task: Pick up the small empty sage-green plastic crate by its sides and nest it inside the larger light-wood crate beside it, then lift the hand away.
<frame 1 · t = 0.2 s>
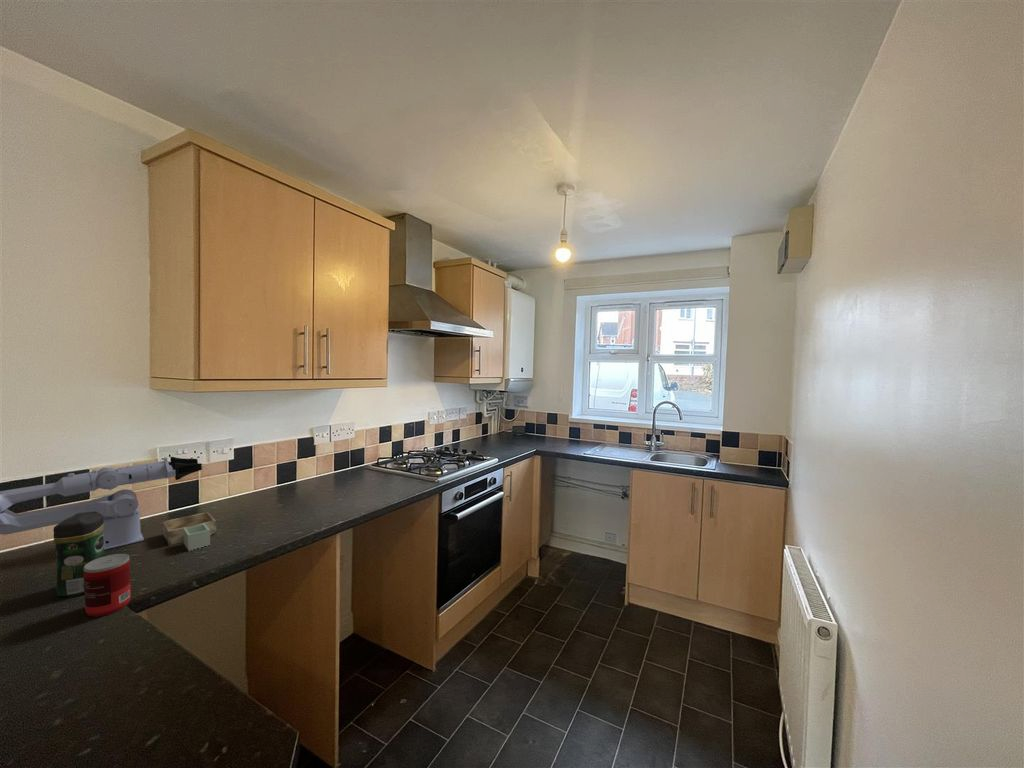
hand: (199, 464, 143), 21 cm above the worktop, tool horizontal, fingers open, 7 cm apart
coffee jar: (82, 588, 104), on the worktop
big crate: (189, 534, 136), on the worktop
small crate: (197, 544, 128), on the worktop
canned food: (108, 607, 96), on the worktop
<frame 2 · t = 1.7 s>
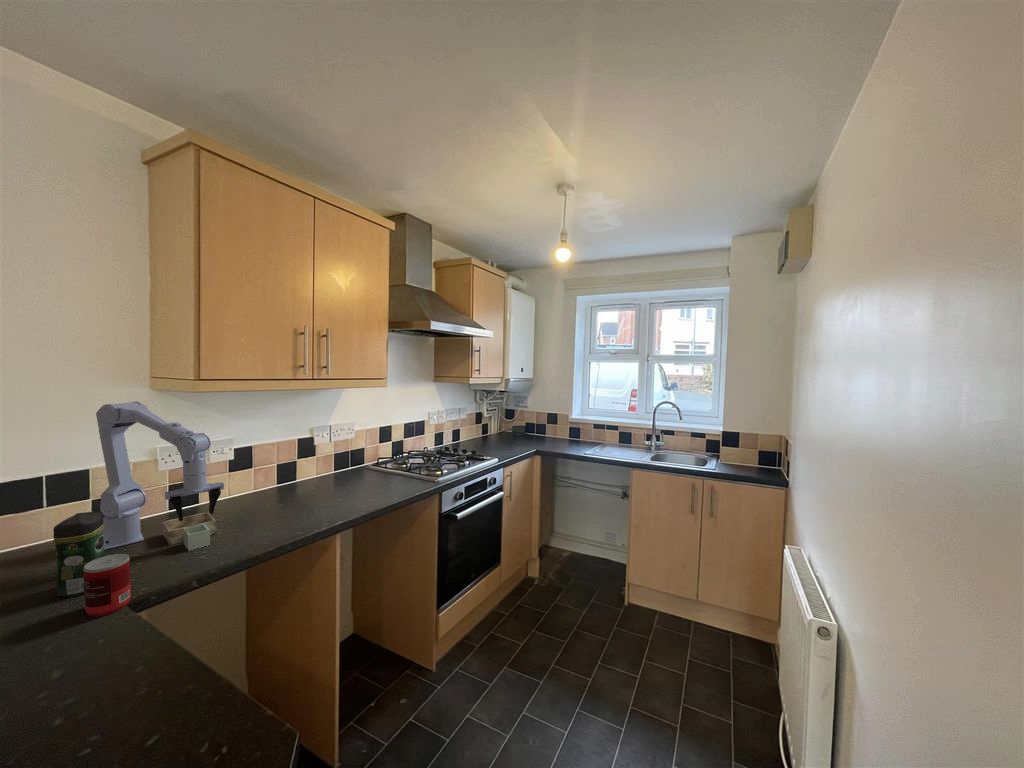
hand: (196, 516, 128), 9 cm above the worktop, tool pointing down, fingers open, 7 cm apart
nothing on the worktop moved.
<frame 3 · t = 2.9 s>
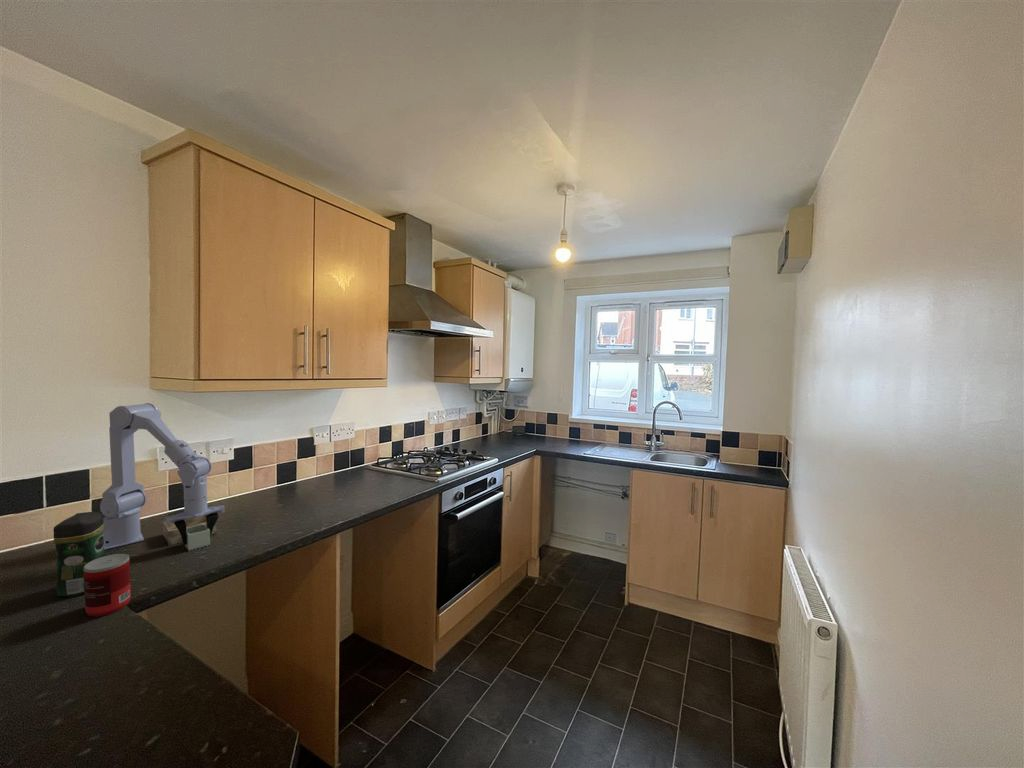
hand: (197, 540, 128), 1 cm above the worktop, tool pointing down, fingers closed on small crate, 5 cm apart
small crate: (197, 544, 128), on the worktop, touching gripper
everything else where it was.
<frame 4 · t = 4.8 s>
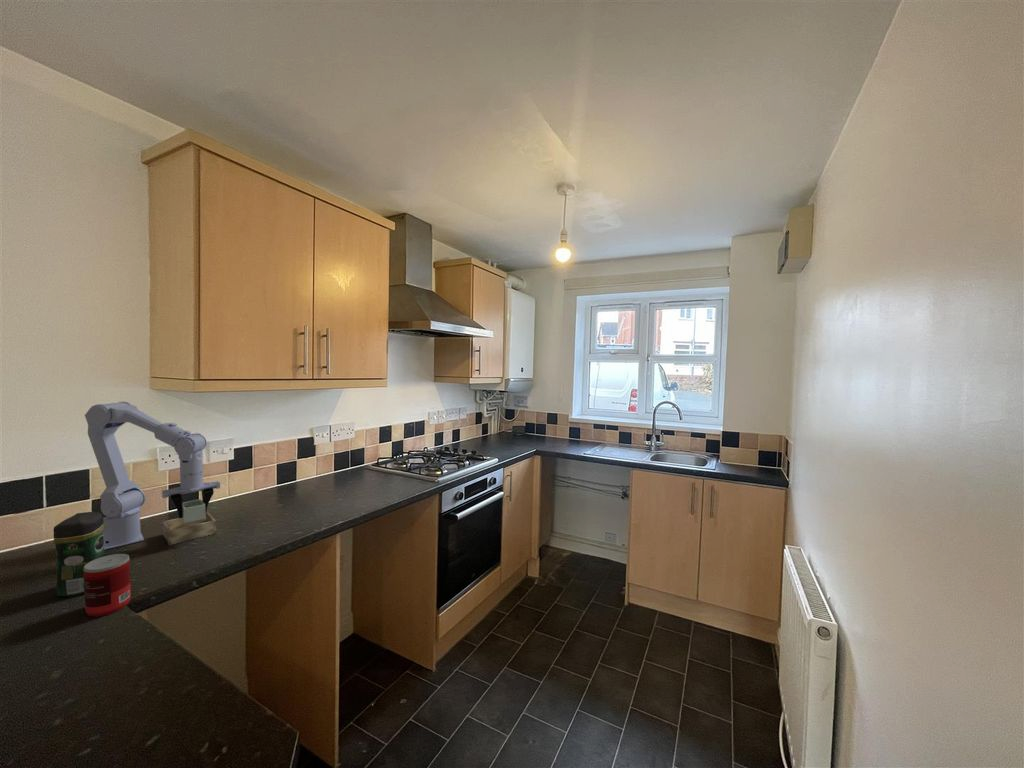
hand: (192, 514, 131), 8 cm above the worktop, tool pointing down, fingers closed on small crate, 5 cm apart
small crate: (192, 519, 131), point 7 cm above the worktop, touching gripper
everything else where it was.
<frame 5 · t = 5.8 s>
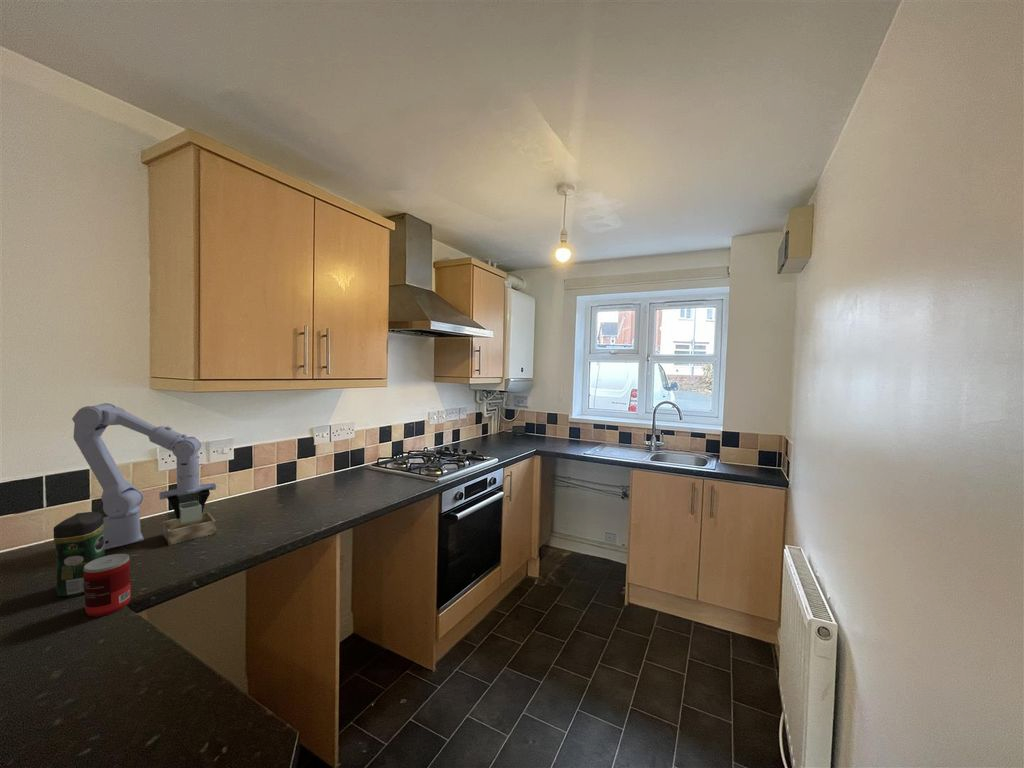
hand: (189, 515, 136), 6 cm above the worktop, tool pointing down, fingers closed on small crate, 5 cm apart
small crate: (189, 519, 136), point 5 cm above the worktop, touching gripper
everything else where it was.
when the fingers open (4 cm above the worktop, at t = 6.8 s): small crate drops 2 cm, resting on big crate.
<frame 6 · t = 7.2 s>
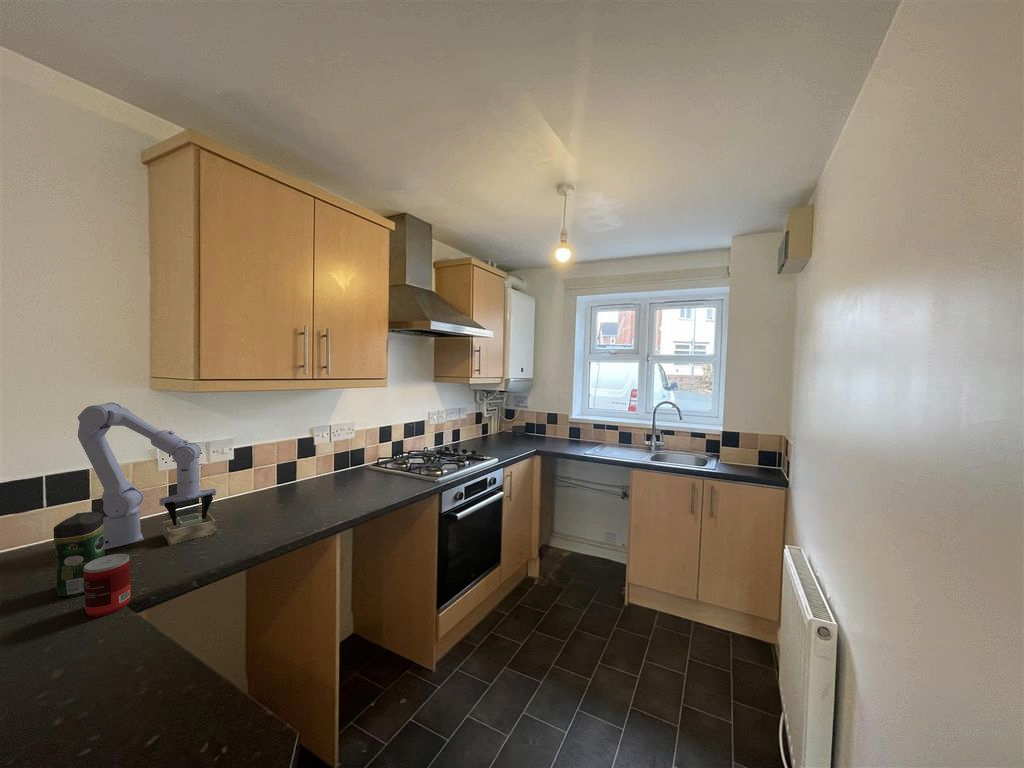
hand: (189, 521, 136), 4 cm above the worktop, tool pointing down, fingers open, 7 cm apart
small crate: (189, 532, 136), point 1 cm above the worktop, touching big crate
everything else where it was.
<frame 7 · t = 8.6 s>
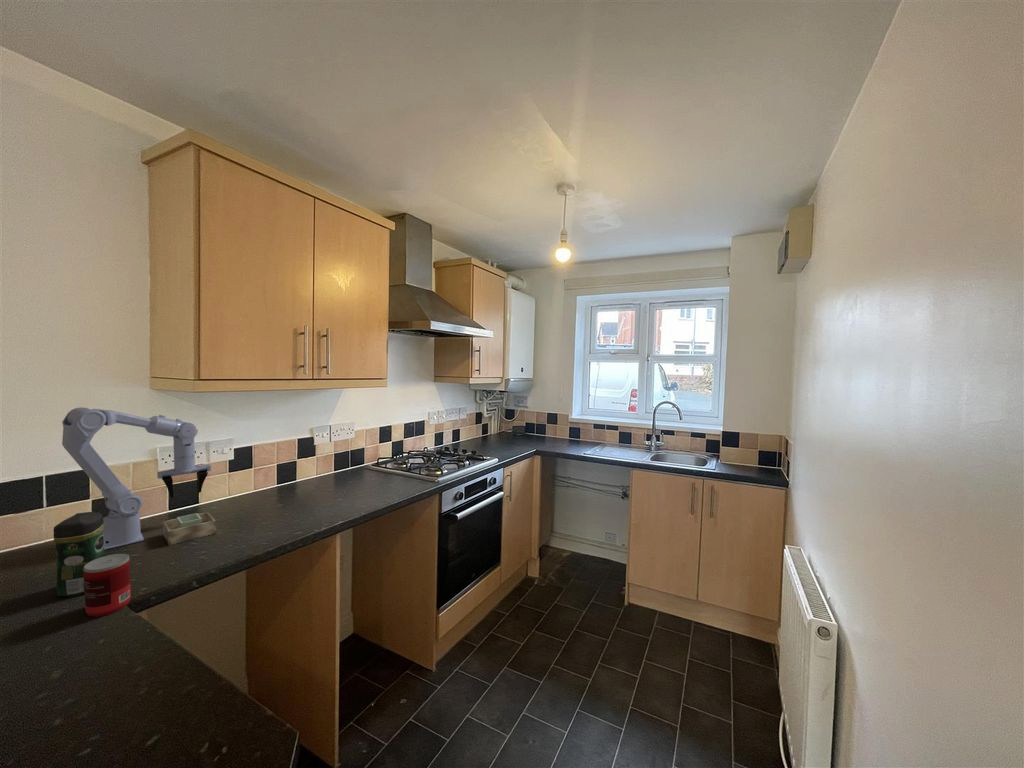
hand: (185, 494, 144), 10 cm above the worktop, tool pointing down, fingers open, 7 cm apart
nothing on the worktop moved.
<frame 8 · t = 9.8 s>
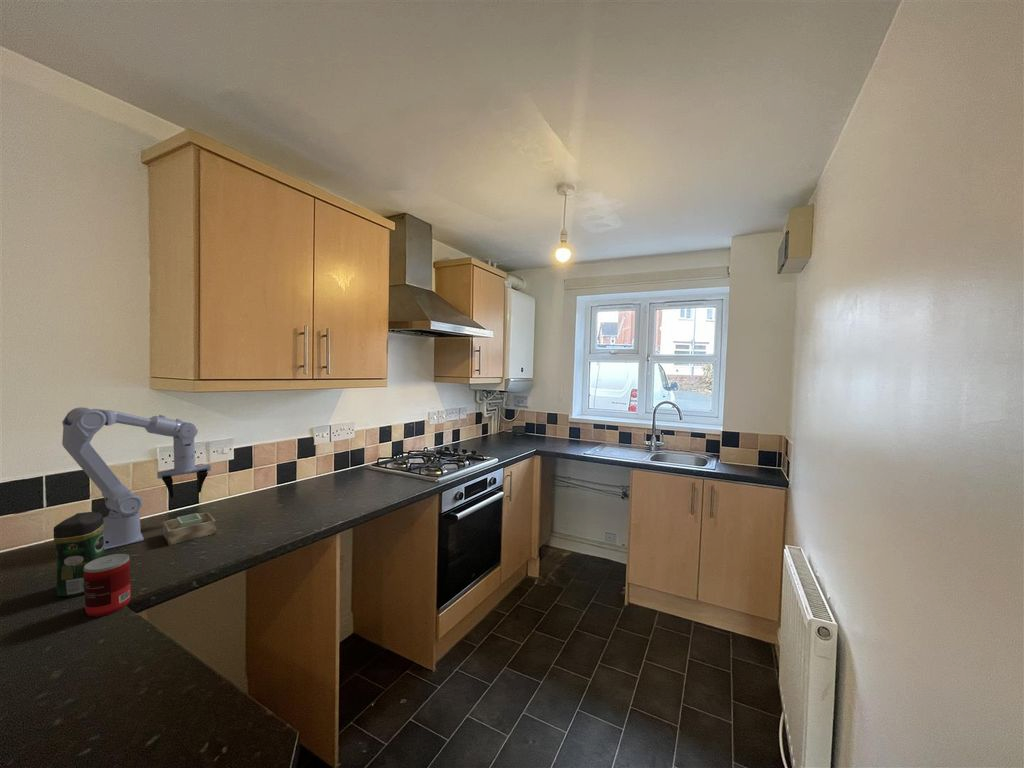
hand: (185, 494, 144), 10 cm above the worktop, tool pointing down, fingers open, 7 cm apart
nothing on the worktop moved.
at the end: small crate 0.1 cm off-centre on the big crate, point 0.6 cm above the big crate's base; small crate tilted 0°; the gripper is holding nothing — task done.
